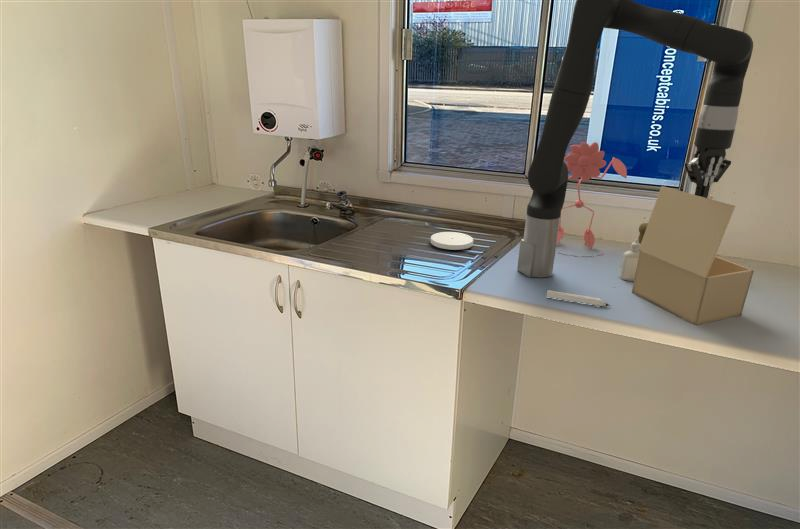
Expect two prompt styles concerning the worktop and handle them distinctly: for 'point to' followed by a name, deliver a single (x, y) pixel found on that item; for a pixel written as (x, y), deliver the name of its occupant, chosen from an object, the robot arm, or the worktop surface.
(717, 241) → the lid flap
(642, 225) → the cork
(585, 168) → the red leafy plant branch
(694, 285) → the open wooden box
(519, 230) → the worktop surface
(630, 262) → the eye dropper bottle
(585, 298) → the marker
